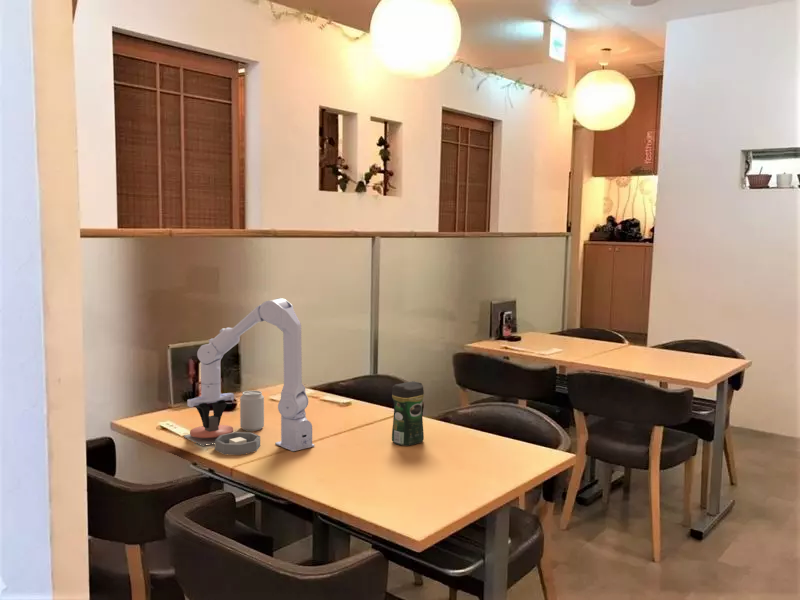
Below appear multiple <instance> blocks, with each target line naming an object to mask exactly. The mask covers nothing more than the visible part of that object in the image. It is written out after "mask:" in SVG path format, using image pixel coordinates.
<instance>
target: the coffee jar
mask: <svg viewBox="0 0 800 600" xmlns="http://www.w3.org/2000/svg"><path fill="white" fill-rule="evenodd" d="M424 391H425V390H424V385H423V384H422V383H421V382H418V381H415V380H414V381H413V380H412V381H407V382H402V383H396V384H394V385H393V386H392V394H391V397H392V400H393V418H392V419H393V420H392V429H391V441H392V442H393V443H394V444H395V445H397V446H405V447H408V446H412V445H416V444H419V443H423V442H424V440H425V439H424V438H425V437H424V435H425V434H424V423H423V421H424V420H423V401H424V397H425V392H424Z"/></svg>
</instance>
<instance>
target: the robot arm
mask: <svg viewBox="0 0 800 600" xmlns="http://www.w3.org/2000/svg"><path fill="white" fill-rule="evenodd" d="M261 322H267V323H268V324H271V325H273V326H276V327H277V328H278V329H279V330H280V331H281V332H282V333H283V334H282V335H283V336H282V337H283V338H282V341H283V346H282V347H283V351H282V352H283V386H282V388H281V392H280V400H279V402H278V404H277V409H278V412H279V414H280V416H281V417H280V422H281V423H280V431H281V432H280V433H281V434H280V435H281V436H280V438H281V439H280V441H276V442H275V446H278V447H279V446H280V447H281V448H283V449H286V450H289V451H291V452H296V451H297V452H298V451H299V450H304V449H308V448H309V449H310V448H312V447H313V448H314V447H316V445H315V444H314V443H313V425H312V423H311V421H310V420H308V419H307V416H306V414H307V413H306V411H305V409H307V407H308V406H309V397H308V395H307V392H306V387H305V385H304V384H303V379H302V378H303V376H302V375H303V372H302V371H303V367H302V364H303V362H302V357H303V356H302V355H303V354H302V353H303V352H302V323H301V322H300V319H299V318H298V316H297V314H296V312H295V309H294V305H293V304H292V303H291V302H289V301H288V300H287V299H285V298H282V297H279V298H274V299H271V300H269V299H268V300H266V301H263V302H262V303H261V304H259V305H257V306H255V308H254V309H252V310H251V311H250V312H249V313H248V314H247V315H246V316H244V317H243V318H242V319H241V320H240V321H238V323H236V325H234V326H233V327H226V328H224V327H223V328H221V329H220V330H219V333H218V334H217V335H216V336H215V337H214V338H213V337H212V338H210V339H208V343H206V344H202V345H200V346H199V348H198V350H197V353H196V355H197V356H196V357H197V359H198V360H199V362H200V389H201V390H200V394H201V395H200V396H196V397H194V398H189V399H187V401H186V402H187V405H186V406H187V407H189V408H194V407H195V409H196V410H197V412H198V414H199V416H200V419H201V423H202V426H203V427H205V428H208V427H209V416H210V411H211V406H209V405H208V404H211V405H212V412H213V415H214V416H217V417H218V426H219V425H221V419H222V415H223V413H224V411H225V409H226V407H227V406H228V403H227V402H226V401H234V399H235V397H234V396H235V393H233V392H227V393H226V392H224V393H222V392H221V390H222V387H221V384H222V383H221V360H222V359H223V357H224V355H225V354H226V353H227V352H229V351H230V350H231V349H232V348H233V347H236V345H237V344H239V343H240V339H241V336H242V335H243V334H244V333H246V332H248V331H249V330H250V329H251V328H253V327H254V326H256V325H257V324H258V323H261Z"/></svg>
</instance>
